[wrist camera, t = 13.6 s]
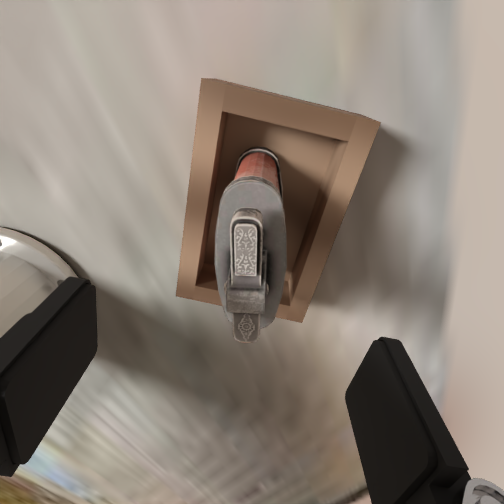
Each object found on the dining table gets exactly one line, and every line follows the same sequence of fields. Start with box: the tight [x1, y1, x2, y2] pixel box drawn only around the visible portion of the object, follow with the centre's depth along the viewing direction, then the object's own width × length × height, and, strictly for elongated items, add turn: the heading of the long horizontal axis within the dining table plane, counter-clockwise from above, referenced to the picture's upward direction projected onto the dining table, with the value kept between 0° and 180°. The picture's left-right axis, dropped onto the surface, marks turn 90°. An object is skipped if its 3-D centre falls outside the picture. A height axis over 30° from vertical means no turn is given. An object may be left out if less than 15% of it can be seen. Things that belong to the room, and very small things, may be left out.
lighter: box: [215, 146, 287, 343], centre depth 17 cm, size 8×3×10 cm, turn 179°
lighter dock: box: [176, 78, 381, 323], centre depth 20 cm, size 13×9×4 cm
